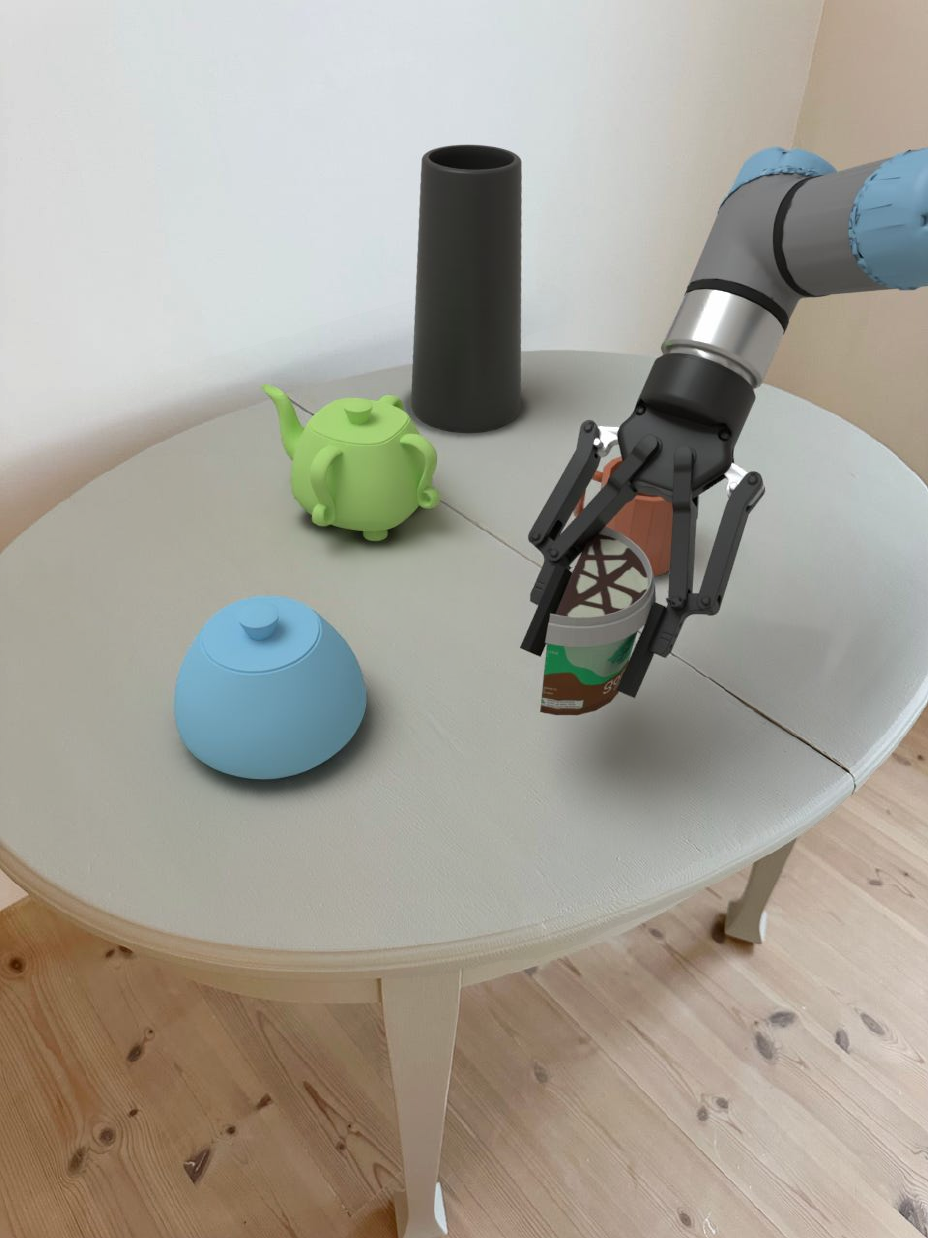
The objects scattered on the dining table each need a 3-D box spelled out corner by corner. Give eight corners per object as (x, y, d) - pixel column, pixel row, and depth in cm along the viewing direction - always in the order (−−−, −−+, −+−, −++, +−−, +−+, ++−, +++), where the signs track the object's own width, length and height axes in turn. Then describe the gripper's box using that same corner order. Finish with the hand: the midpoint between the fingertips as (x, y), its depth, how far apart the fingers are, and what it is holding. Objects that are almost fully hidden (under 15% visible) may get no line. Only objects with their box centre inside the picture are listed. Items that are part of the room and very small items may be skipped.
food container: (619, 749, 66) (642, 642, 60) (534, 726, 68) (547, 619, 61) (651, 639, 75) (674, 536, 69) (575, 620, 77) (591, 517, 70)
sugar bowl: (293, 823, 70) (276, 713, 63) (140, 746, 76) (107, 636, 68) (402, 697, 80) (398, 589, 73) (260, 637, 86) (243, 531, 78)
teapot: (287, 562, 94) (273, 450, 86) (273, 485, 105) (259, 379, 96) (446, 541, 97) (447, 431, 89) (417, 468, 108) (416, 364, 100)
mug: (689, 546, 97) (706, 470, 92) (655, 588, 92) (669, 510, 86) (590, 510, 102) (600, 435, 96) (552, 548, 97) (559, 472, 91)
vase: (388, 407, 119) (380, 156, 100) (459, 370, 127) (463, 133, 108) (473, 444, 112) (480, 184, 93) (542, 403, 120) (562, 156, 102)
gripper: (849, 431, 66) (717, 734, 66) (595, 360, 75) (478, 629, 75) (847, 390, 60) (700, 727, 60) (568, 316, 68) (439, 612, 68)
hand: (577, 672), depth 67 cm, fingers closed on food container, 7 cm apart
